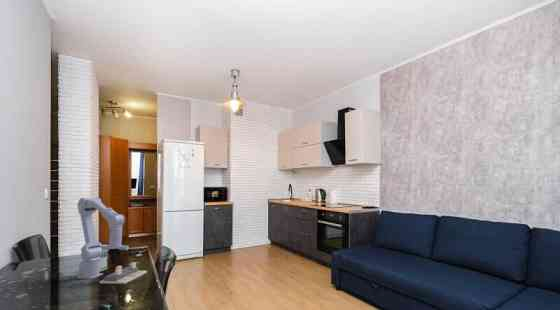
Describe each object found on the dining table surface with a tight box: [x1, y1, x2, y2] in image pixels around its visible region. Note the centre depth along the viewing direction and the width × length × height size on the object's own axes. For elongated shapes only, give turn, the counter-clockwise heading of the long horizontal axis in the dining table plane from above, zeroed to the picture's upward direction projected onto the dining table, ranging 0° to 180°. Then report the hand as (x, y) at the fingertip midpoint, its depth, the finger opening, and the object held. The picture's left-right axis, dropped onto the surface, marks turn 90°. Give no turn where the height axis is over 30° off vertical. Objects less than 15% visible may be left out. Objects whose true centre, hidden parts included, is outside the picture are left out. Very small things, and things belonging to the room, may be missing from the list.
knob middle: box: [115, 265, 123, 270], centre depth 152 cm, size 2×3×2 cm, turn 173°
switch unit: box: [99, 266, 148, 285], centre depth 151 cm, size 14×19×3 cm
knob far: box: [129, 262, 137, 269], centre depth 157 cm, size 2×3×2 cm, turn 173°
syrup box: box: [99, 244, 109, 273], centre depth 167 cm, size 6×6×14 cm
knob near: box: [114, 268, 123, 275], centre depth 146 cm, size 2×3×2 cm, turn 173°
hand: (114, 263), depth 148 cm, fingers closed
